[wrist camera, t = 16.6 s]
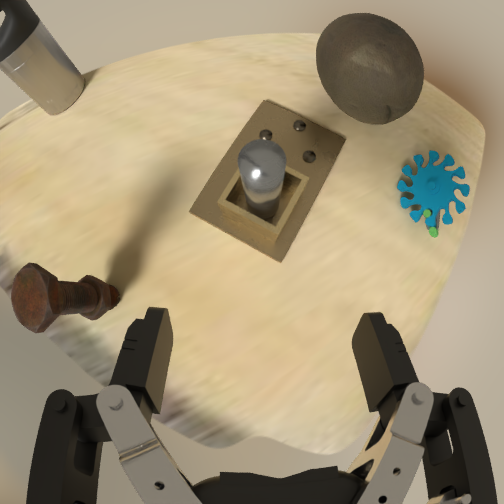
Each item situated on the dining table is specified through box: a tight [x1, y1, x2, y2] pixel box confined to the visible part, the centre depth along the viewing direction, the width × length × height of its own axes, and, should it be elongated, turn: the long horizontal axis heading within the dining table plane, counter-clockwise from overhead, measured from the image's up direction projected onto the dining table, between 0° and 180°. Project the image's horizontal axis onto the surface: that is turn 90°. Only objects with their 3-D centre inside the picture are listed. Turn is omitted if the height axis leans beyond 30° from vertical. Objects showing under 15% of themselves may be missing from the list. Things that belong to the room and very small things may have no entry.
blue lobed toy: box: [397, 150, 470, 237], centre depth 31 cm, size 11×6×10 cm
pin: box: [238, 139, 286, 219], centre depth 26 cm, size 4×4×12 cm
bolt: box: [11, 263, 120, 333], centre depth 25 cm, size 6×5×15 cm
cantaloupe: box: [316, 13, 424, 124], centre depth 28 cm, size 14×14×15 cm
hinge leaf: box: [189, 100, 346, 263], centre depth 31 cm, size 12×18×5 cm, turn 151°
